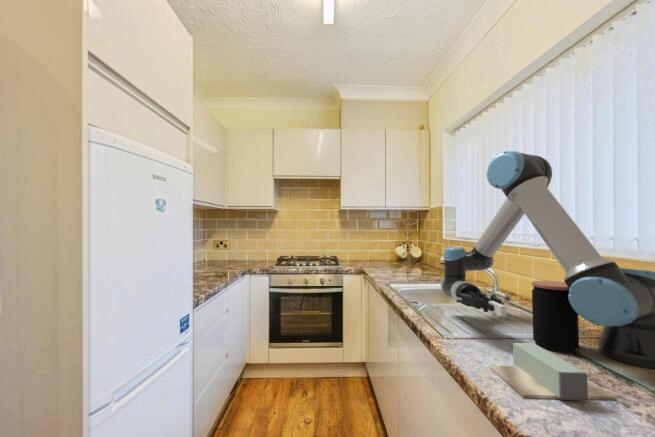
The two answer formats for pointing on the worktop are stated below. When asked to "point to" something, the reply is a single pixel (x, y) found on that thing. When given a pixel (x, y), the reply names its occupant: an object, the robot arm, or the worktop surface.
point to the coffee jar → (554, 317)
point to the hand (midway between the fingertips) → (503, 311)
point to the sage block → (551, 371)
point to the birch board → (534, 389)
